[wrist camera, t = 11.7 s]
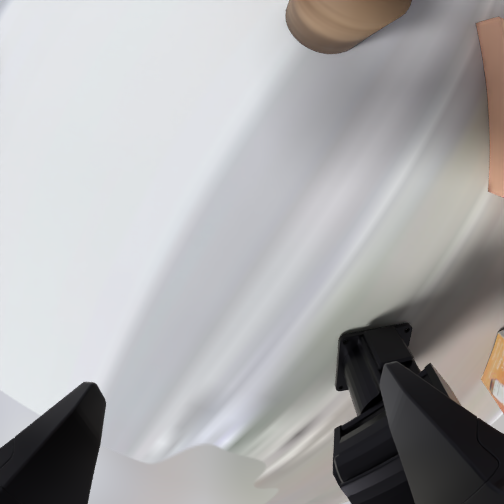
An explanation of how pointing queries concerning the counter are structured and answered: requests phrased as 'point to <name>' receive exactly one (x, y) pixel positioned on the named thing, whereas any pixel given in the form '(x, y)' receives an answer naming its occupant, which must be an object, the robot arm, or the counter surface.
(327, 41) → the walnut knob
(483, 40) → the shallow square tray
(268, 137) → the counter surface
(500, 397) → the small box
